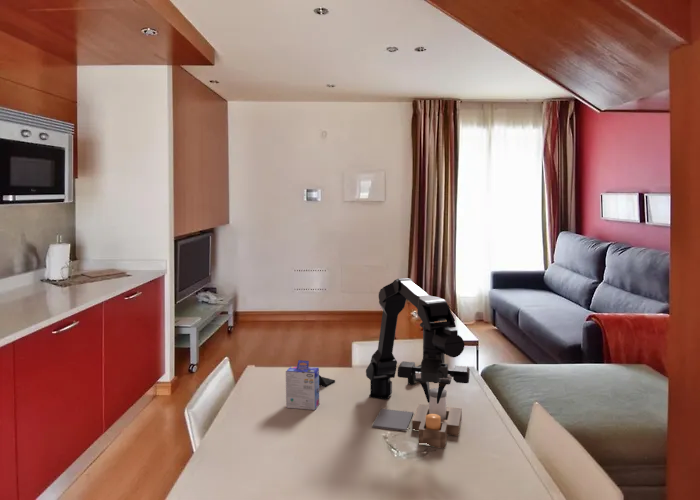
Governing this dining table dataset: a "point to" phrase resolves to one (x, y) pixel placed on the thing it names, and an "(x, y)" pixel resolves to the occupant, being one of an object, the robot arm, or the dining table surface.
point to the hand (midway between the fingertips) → (433, 402)
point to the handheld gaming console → (325, 381)
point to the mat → (393, 419)
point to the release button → (433, 422)
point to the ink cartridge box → (302, 387)
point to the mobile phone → (412, 378)
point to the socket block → (447, 426)
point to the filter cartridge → (441, 406)
